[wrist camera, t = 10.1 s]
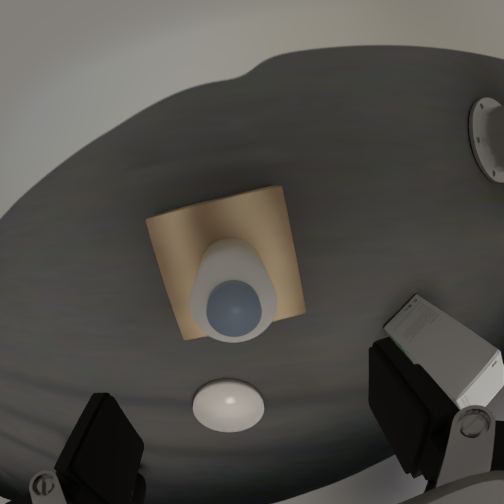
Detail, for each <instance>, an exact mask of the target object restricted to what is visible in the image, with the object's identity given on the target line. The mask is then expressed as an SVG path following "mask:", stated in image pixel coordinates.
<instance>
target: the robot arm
mask: <svg viewBox="0 0 504 504" xmlns="http://www.w3.org/2000/svg"><path fill="white" fill-rule="evenodd" d="M469 135H470V141H471V146H472V150H473V153H474V156H475V158H476V161H477V163H478V165H479V167H480V168H481V170H482V172H483V173H484V174H485V175H486V176H487V178H489V179H490V180H492V181H494V182H499V183H503V182H504V105H503V106H502V105H500V104H499V103H498V102H497V101H496V100H494V99H492V98H489V97H488V98H481V99H478V100H477V101H476V102H475V103H474V104H473V106H472V108H471V111H470V116H469ZM368 400H369V406H370V408H371V410H372V412H373V414H374V416H375V418H376V419H377V421H378V423H379V425H380V427H381V429H382V430H383V432H384V434H385V436H386V438H387V440H388V442H389V444H390V445H391V447H392V449H393V451H394V453H395V455H396V457H397V458H398V460H399V462H400V464H401V466H402V468H403V470H404V472H405V473H406V474H409V473H411V475H412V477H413V478H416V477H418V476H420V475H422V474H423V476H424V478H425V479H426V480H428V482H427V485H426V488H425V491H424V493H423V494H420V495H418V496H416V497H413V498H411V499H408V500H406V501H404V502H402V503H399V504H504V421H495V417H494V415H493V413H492V412H491V411H490V410H489V409H488V408H486V407H484V406H480V405H471V406H467V407H465V408H463V409H461V410H460V409H459V408H458V407H457V406H456V405H455V403H454V402H453V401H452V400H451V399H450V398H449V396H448V395H447V394H446V393H445V392H444V391H443V390H442V388H441V387H440V386H439V385H438V384H437V383H436V382H435V380H434V379H433V378H432V377H431V376H430V375H429V374H428V373H427V371H426V370H425V369H424V368H423V367H422V366H421V365H420V364H413V363H412V361H411V360H410V359H409V358H408V357H407V356H406V355H405V353H404V352H403V351H402V350H401V349H400V348H399V347H398V346H397V345H396V343H395V342H394V341H393V340H392V339H391V338H390V337H387V338H384V339H381V340H378V341H375V342H374V343H373V347H370V348H369V398H368ZM143 450H144V443H143V441H142V439H141V438H140V436H139V435H138V433H137V432H136V431H135V429H134V428H133V426H132V425H131V423H130V422H129V420H128V419H127V417H126V416H125V414H124V413H123V411H122V409H121V408H120V406H119V405H118V403H117V401H116V400H115V398H114V397H113V396H111V395H110V394H109V393H94V394H93V395H92V396H91V398H90V400H89V402H88V403H87V405H86V407H85V409H84V411H83V412H82V414H81V416H80V418H79V420H78V422H77V424H76V425H75V427H74V429H73V431H72V433H71V435H70V437H69V439H68V441H67V443H66V445H65V447H64V448H63V450H62V452H61V454H60V456H59V458H58V461H57V463H56V465H55V467H54V469H55V470H56V471H57V474H54V473H53V472H51V471H41V472H39V473H37V474H36V475H35V476H34V477H33V478H32V480H31V481H30V485H29V489H30V493H28V494H25V495H23V496H21V497H19V498H17V499H14V500H12V501H10V502H7V503H6V504H130V500H131V496H132V492H133V488H134V484H135V480H136V476H137V472H138V469H139V465H140V461H141V457H142V454H143Z"/></svg>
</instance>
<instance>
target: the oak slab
mask: <svg viewBox="0 0 504 504" xmlns="http://www.w3.org/2000/svg"><path fill="white" fill-rule="evenodd" d="M145 220H146V224H147V227H148V231H149V235H150V238H151V242H152V245H153V249H154V252H155V256H156V259H157V262H158V265H159V269H160V272H161V275H162V278H163V281H164V284H165V288H166V291H167V294H168V297H169V300H170V302H171V305H172V308H173V311H174V314H175V317H176V320H177V322H178V325H179V328H180V331H181V333H182V336H183V339H184V340H189V339H195V338H200V337H205V336H209V335H207V334H206V333H204V332H203V331H202V330H201V329H200V328H199V327H198V325H197V324H196V323H195V321H194V319H193V317H192V314H191V310H190V295H191V291H192V287H193V284H194V281H195V278H196V275H197V272H198V268H199V265H200V262H201V259H202V256H203V254H204V252H205V251H206V250H207V248H208V247H209V246H210V245H212V244H213V243H215V242H216V241H218V240H221V239H225V238H238V239H241V240H244V241H246V242H248V243H249V244H251V245H252V246H253V247H254V248H255V249H256V251H257V252H258V254H259V256H260V258H261V260H262V262H263V264H264V267H265V269H266V271H267V273H268V275H269V277H270V279H271V282H272V284H273V286H274V288H275V291H276V295H277V309H276V313H275V316H274V318H273V320H272V321H277V320H281V319H285V318H288V317H292V316H296V315H300V314H304V313H306V310H305V304H304V298H303V292H302V286H301V281H300V275H299V270H298V264H297V259H296V254H295V248H294V243H293V238H292V233H291V228H290V223H289V218H288V213H287V208H286V203H285V198H284V194H283V189H282V186H277V185H274V186H269V187H265V188H260V189H255V190H251V191H247V192H242V193H238V194H234V195H229V196H225V197H221V198H217V199H213V200H209V201H205V202H201V203H197V204H193V205H189V206H185V207H181V208H178V209H174V210H170V211H167V212H163V213H159V214H156V215H154V216H152V217H150V218H147V219H145Z"/></svg>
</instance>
